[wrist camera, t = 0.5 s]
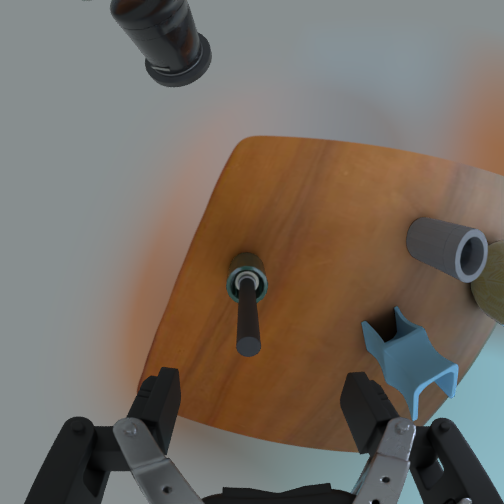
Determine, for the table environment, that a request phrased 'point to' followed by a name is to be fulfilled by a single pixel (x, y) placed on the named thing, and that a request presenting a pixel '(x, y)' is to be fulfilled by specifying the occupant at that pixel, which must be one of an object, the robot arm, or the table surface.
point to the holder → (246, 263)
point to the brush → (247, 314)
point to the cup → (448, 247)
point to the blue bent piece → (410, 361)
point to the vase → (491, 284)
